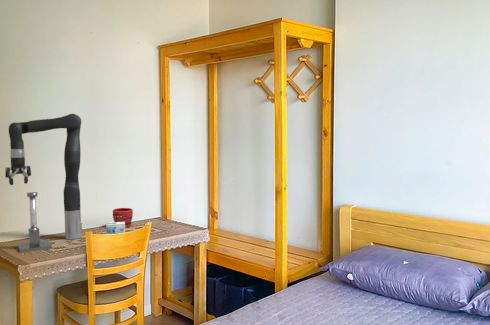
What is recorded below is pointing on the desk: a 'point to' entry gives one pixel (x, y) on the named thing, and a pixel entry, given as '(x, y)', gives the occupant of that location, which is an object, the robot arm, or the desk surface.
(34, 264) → the desk surface
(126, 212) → the plant pot
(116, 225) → the light bulb box
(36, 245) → the stand
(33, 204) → the jack column
